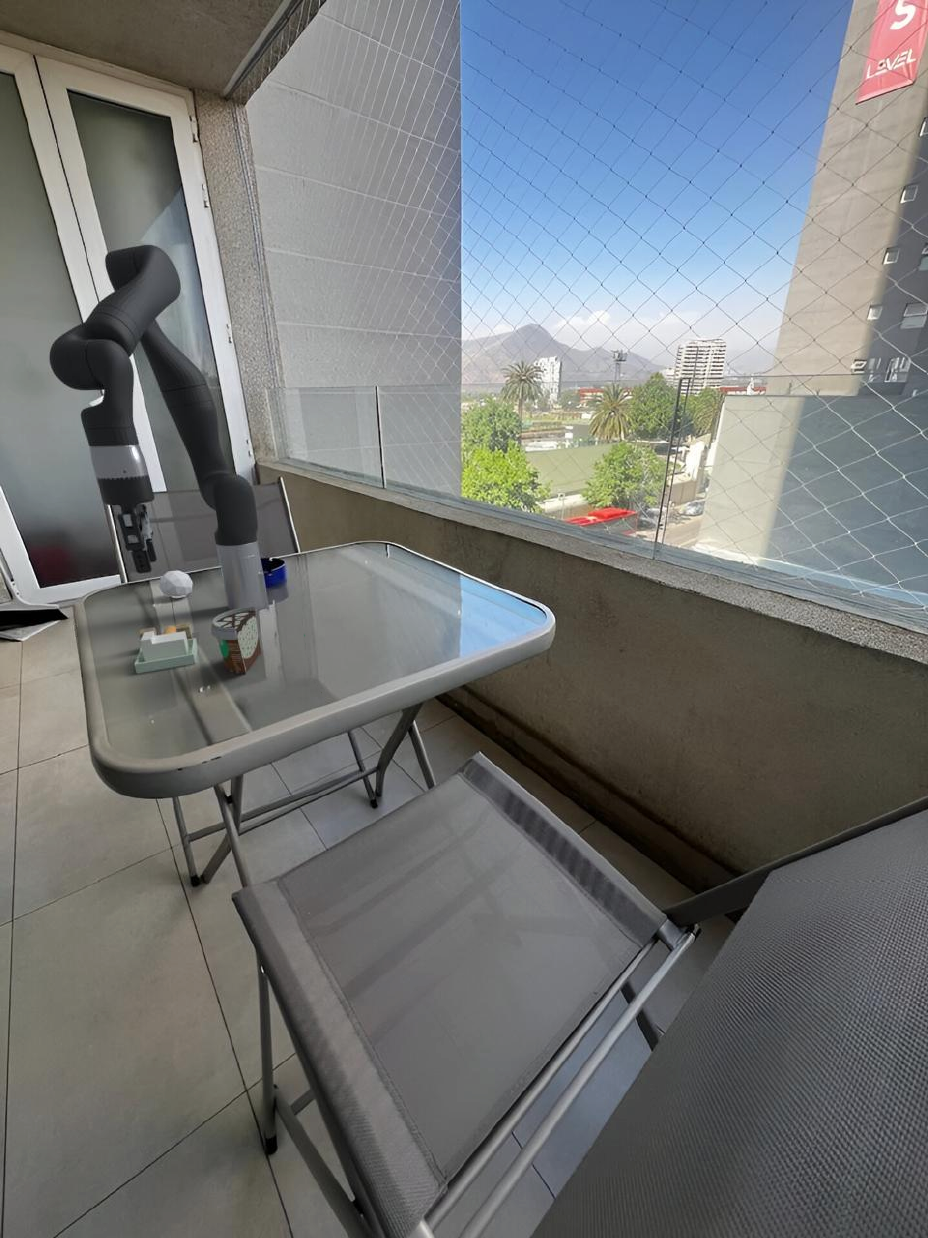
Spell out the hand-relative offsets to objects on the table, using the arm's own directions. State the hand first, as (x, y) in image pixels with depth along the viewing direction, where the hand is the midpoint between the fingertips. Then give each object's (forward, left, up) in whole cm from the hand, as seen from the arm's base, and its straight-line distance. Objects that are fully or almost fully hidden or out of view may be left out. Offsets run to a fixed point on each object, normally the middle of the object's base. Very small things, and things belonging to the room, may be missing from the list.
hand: (147, 566), depth 88 cm
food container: (-12, +8, -19) cm, 24 cm away
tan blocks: (+1, -8, -19) cm, 20 cm away
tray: (0, 0, -19) cm, 19 cm away
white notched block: (0, 0, -18) cm, 18 cm away
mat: (0, -5, -19) cm, 20 cm away
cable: (+1, -10, -19) cm, 21 cm away
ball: (+2, -46, -19) cm, 50 cm away
